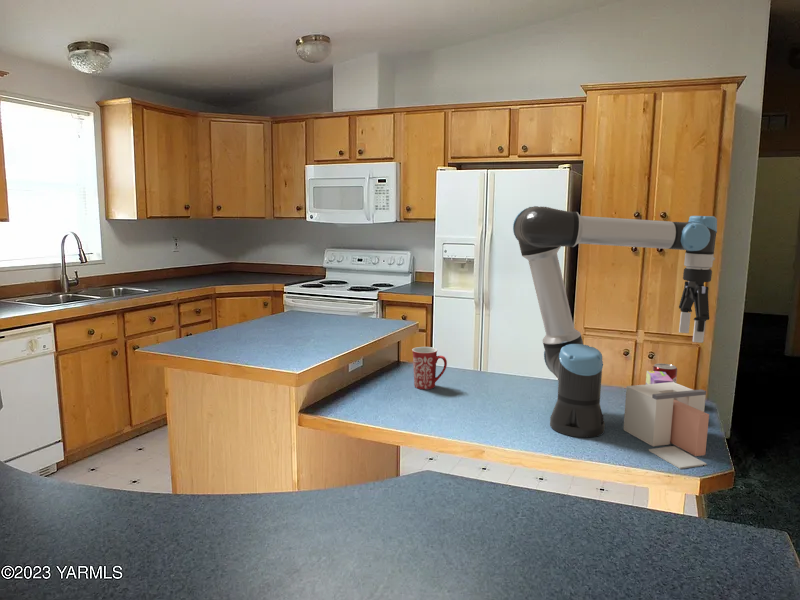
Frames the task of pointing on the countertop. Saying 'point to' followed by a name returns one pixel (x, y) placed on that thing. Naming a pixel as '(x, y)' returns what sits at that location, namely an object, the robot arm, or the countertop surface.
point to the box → (657, 377)
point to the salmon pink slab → (689, 428)
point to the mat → (677, 457)
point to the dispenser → (656, 409)
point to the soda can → (667, 370)
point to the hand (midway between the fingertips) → (690, 337)
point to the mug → (426, 367)
